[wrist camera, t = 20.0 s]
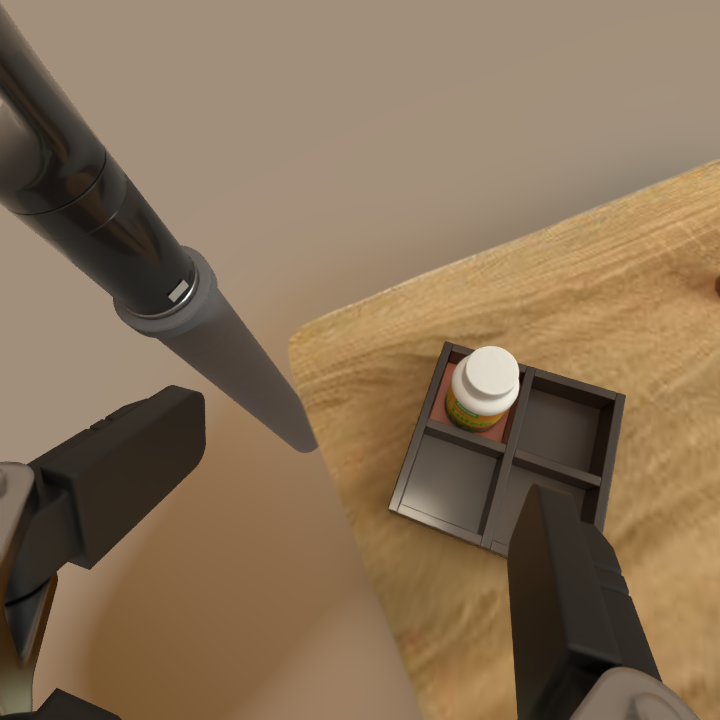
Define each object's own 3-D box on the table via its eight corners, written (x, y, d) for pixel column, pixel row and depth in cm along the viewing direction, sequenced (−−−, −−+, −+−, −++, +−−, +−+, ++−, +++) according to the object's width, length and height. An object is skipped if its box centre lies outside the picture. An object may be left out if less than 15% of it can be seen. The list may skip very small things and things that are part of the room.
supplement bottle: (438, 425, 40) (449, 393, 31) (450, 374, 42) (463, 330, 33) (495, 440, 39) (523, 412, 30) (505, 387, 41) (534, 346, 32)
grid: (388, 511, 38) (387, 508, 35) (441, 355, 44) (445, 340, 40) (575, 586, 35) (593, 591, 31) (607, 406, 40) (626, 394, 37)
